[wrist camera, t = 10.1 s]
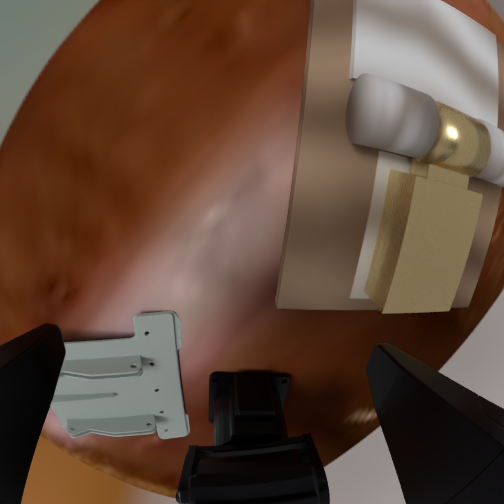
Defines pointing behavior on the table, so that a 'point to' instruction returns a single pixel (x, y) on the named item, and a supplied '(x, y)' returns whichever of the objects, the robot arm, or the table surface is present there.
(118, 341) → the metal bracket
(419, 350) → the table surface
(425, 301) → the perfume bottle
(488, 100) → the hinge base
